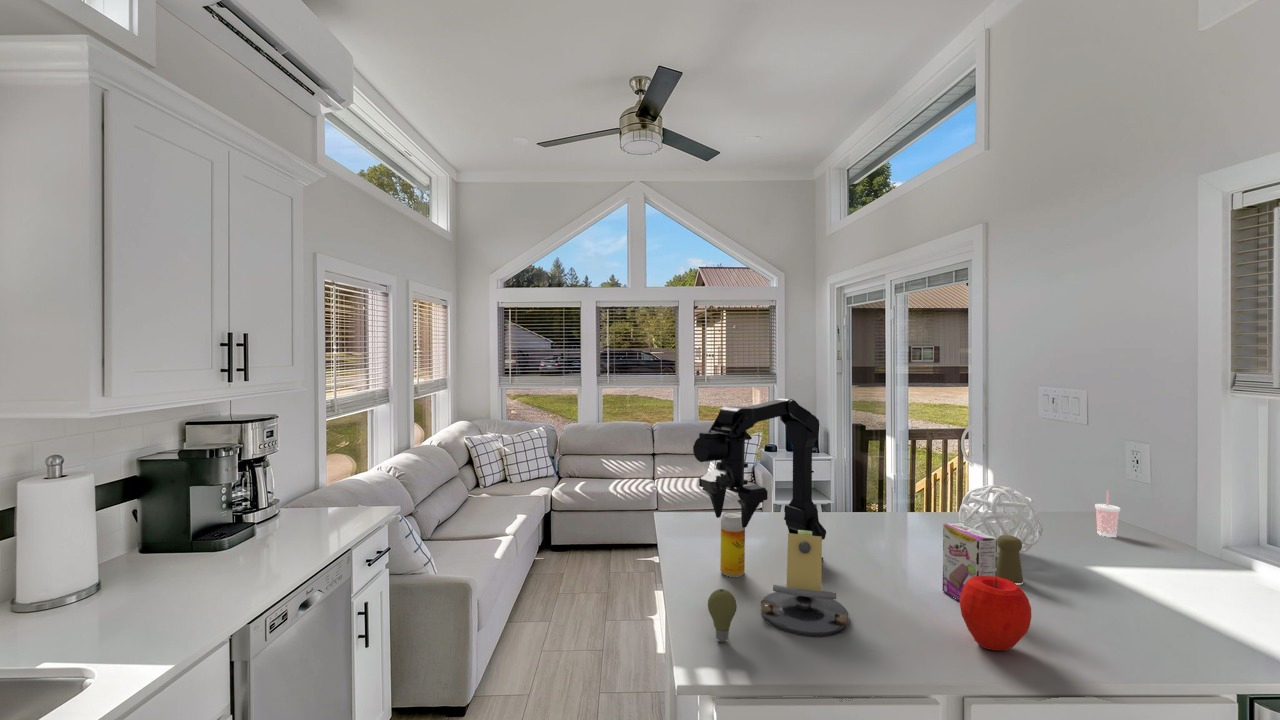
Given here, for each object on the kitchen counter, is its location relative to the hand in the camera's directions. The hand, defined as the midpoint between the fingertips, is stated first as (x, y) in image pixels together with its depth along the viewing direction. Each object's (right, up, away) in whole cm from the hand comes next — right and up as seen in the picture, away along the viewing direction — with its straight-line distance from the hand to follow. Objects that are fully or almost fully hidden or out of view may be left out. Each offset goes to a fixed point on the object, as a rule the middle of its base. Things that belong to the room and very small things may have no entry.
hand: (730, 522), depth 136 cm
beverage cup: (+123, -15, +37) cm, 129 cm away
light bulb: (-6, -15, -28) cm, 32 cm away
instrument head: (+13, -11, -17) cm, 24 cm away
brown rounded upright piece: (+69, -15, +2) cm, 71 cm away
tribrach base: (+13, -15, -17) cm, 26 cm away
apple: (+46, -16, -29) cm, 56 cm away
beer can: (+1, -15, +5) cm, 16 cm away
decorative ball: (+78, -15, +19) cm, 81 cm away
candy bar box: (+52, -15, -10) cm, 55 cm away
